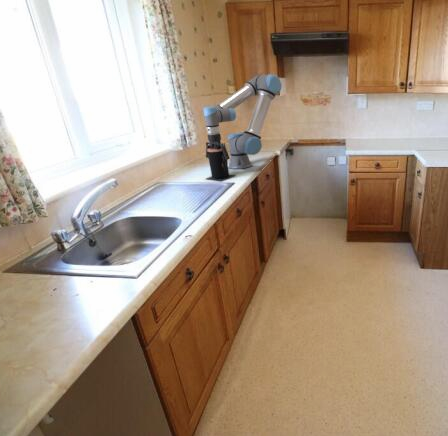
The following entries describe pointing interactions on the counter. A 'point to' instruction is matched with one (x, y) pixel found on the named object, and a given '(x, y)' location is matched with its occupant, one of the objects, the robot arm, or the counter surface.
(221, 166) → the coffee jar
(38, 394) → the counter surface
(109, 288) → the counter surface
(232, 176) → the mat
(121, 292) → the counter surface
